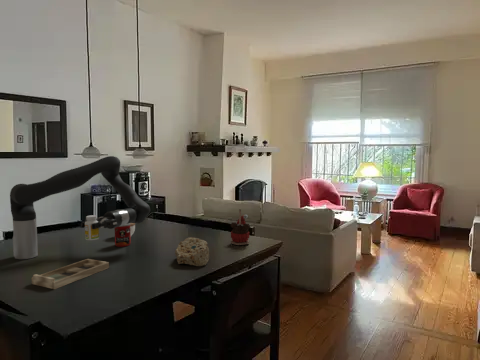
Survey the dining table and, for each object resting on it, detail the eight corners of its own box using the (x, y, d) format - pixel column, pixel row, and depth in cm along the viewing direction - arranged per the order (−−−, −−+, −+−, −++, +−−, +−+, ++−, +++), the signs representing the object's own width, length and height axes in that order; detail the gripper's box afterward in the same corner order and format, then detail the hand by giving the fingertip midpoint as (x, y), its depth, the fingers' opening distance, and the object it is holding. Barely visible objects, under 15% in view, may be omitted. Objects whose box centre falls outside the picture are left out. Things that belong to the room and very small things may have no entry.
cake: (226, 244, 195) (226, 209, 193) (235, 240, 203) (235, 207, 201) (245, 247, 190) (245, 211, 188) (253, 242, 198) (253, 208, 196)
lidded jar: (138, 234, 216) (137, 218, 215) (131, 239, 205) (130, 222, 204) (120, 234, 217) (119, 218, 216) (112, 238, 206) (111, 221, 205)
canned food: (114, 247, 189) (114, 225, 188) (115, 243, 196) (114, 222, 195) (130, 246, 191) (130, 224, 190) (130, 242, 198) (130, 221, 197)
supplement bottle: (100, 237, 161) (100, 214, 160) (96, 240, 155) (95, 217, 154) (88, 237, 160) (87, 214, 160) (83, 240, 155) (82, 217, 154)
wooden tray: (31, 284, 138) (31, 274, 138) (87, 264, 162) (87, 256, 162) (54, 289, 133) (54, 279, 133) (109, 267, 157) (108, 259, 156)
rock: (212, 268, 160) (206, 246, 158) (178, 277, 159) (172, 255, 157) (210, 249, 180) (205, 230, 178) (180, 257, 179) (175, 238, 177)
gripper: (104, 209, 173) (73, 215, 158) (128, 211, 167) (99, 218, 151) (104, 225, 174) (74, 233, 158) (129, 228, 167) (100, 236, 152)
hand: (86, 226), depth 155 cm, fingers closed on supplement bottle, 5 cm apart
